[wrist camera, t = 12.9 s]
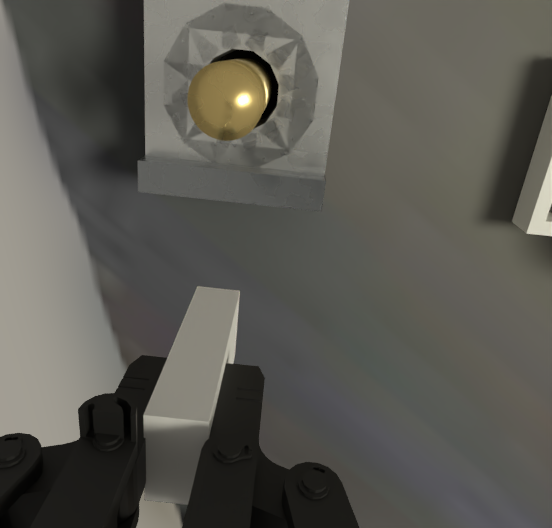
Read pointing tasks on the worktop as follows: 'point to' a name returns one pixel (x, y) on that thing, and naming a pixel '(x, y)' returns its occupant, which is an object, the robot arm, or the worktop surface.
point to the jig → (269, 131)
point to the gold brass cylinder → (229, 97)
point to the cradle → (538, 185)
